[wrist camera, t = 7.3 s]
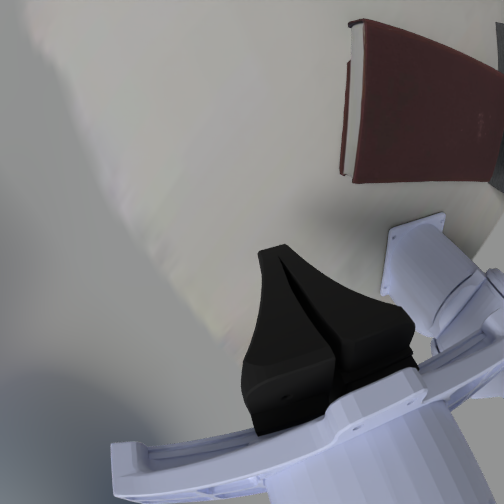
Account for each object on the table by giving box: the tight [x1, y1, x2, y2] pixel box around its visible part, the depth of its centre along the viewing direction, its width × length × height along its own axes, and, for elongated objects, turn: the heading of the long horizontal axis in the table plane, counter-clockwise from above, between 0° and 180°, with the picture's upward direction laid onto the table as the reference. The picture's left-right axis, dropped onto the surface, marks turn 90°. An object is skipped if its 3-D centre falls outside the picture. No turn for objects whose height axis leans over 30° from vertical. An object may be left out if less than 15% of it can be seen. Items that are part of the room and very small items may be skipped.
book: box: [339, 18, 504, 184], centre depth 20 cm, size 13×19×3 cm, turn 90°
